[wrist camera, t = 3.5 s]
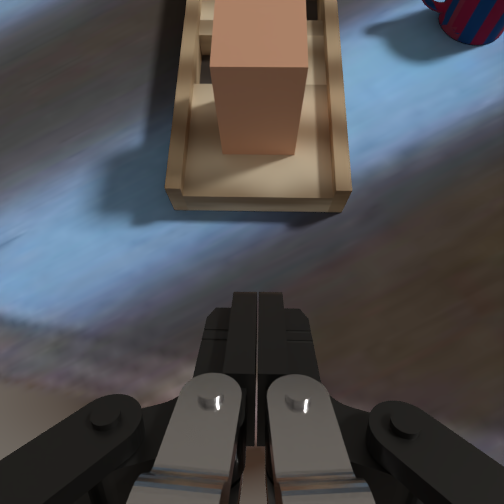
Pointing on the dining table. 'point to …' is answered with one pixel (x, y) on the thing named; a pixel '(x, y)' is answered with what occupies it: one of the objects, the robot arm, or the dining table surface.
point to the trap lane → (260, 166)
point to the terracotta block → (259, 74)
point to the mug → (470, 19)
